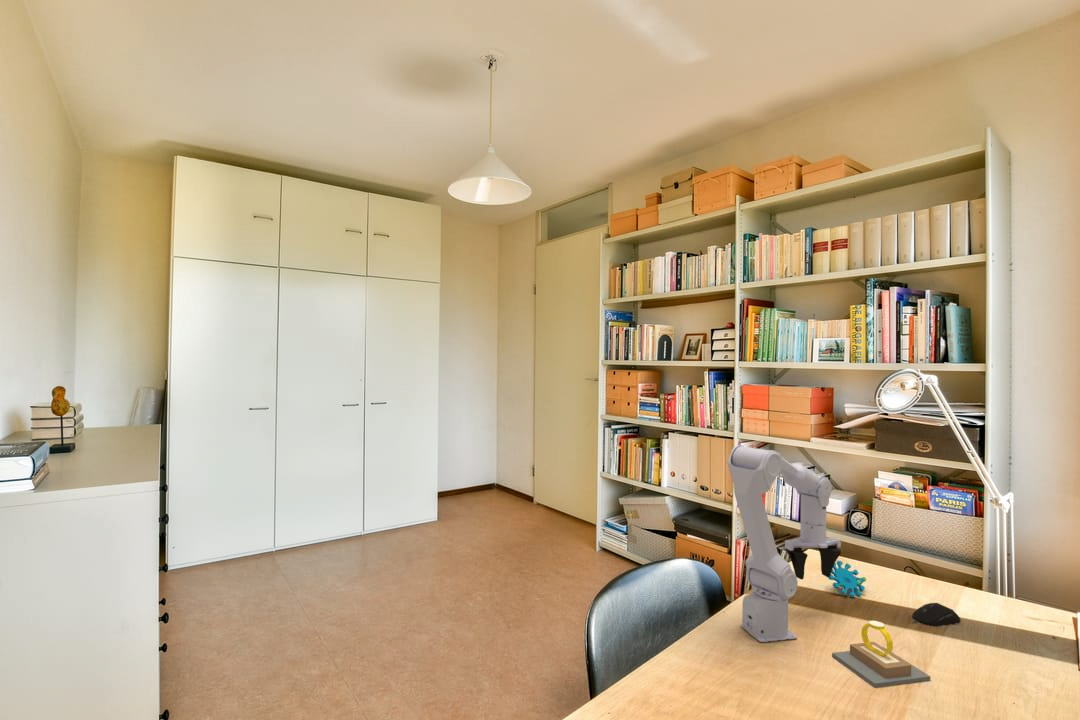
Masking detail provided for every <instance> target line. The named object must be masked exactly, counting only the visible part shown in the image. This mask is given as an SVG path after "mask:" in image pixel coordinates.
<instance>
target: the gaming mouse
mask: <svg viewBox="0 0 1080 720" xmlns="http://www.w3.org/2000/svg"><path fill="white" fill-rule="evenodd" d="M911 618H912V619H913V620H914V619H915V620H916V621H915V620H914V621H912V622H911V623H912V624H918V623H917V622H920V623H919V624H921V623H923V624H922V625H925V626H928V625H929V626H928V627H943V626H942V625H945V626H950V625H949V624H953V625H956V624H955V623H958V624H960V622H961V617H960V616H959V614H957V613H956V612H955V611H954V610H953V609H952V608H950V607H947V606H945V605H944V604H941V603H939V602H930V603H926V604H923V605H922V606H920V607H918V608H917V609H916V610H915V611H914V612H913V613H912V616H911Z"/></svg>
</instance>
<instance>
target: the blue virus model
mask: <svg viewBox="0 0 1080 720" xmlns="http://www.w3.org/2000/svg"><path fill="white" fill-rule="evenodd" d="M842 565H844V567H842ZM851 568H852V565H851V564H849V563H848V562H847V563H846V564H844V563H843V561H841V560H838V559H837V560H836V562H835V564H834V566H833V569H832V572H831V575H830V577H827V579H829V580H830V581H835V582H833V583H832V587H833V588H834V589H837V588H839V587H842V589H841V590H840V591H839V592H840V593H841V594H842V595H843V596H845V595H847V591H848V590H849V591H850V592H849V593H848V596H849V597H850V598H852V599H855V597H856V596H857V597H861V596H863V591H864V590H865V589H866V586H864V585H863V583H865V582H866V581H867V578H866V577H865V576H862V577H858V576H857V575H859V571H858V570H857V569H854V570H849V569H851ZM854 590H855V591H854Z"/></svg>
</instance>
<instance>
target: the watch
mask: <svg viewBox="0 0 1080 720" xmlns="http://www.w3.org/2000/svg"><path fill="white" fill-rule="evenodd" d="M869 627H870V628H871V629H874V630H876V631H877V630H879V631H880V633H881V634H882V635H883V637H884V639H885V641H886V651H885V653H883V652H881V651H880V650H878V649H876V648H874V647H873V646H872V644H871V643H870V642H871V641H870V639H869V636H868V629H869ZM860 635H861V638H862V643H864V644H865V645H866V647H867V648H868V649H869V650H871V651H873V652H875V653H877V654H878V655H880V656H884V655H888V654H890V653H891V652H893V648H894V646H893V645H894V643H893V639H892V637H891V635H890V633H889V631H888V630H887V629H886V627H885V624H884V623H883V622H881V621H878V620H869V621H868V623H866V624H864V625H863V626H862V628H861V633H860Z"/></svg>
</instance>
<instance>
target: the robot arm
mask: <svg viewBox="0 0 1080 720" xmlns="http://www.w3.org/2000/svg"><path fill="white" fill-rule="evenodd" d="M726 464H727V467H728V471H729V474H730V476H731V478H730V479H731V480H732V484H733V491H734V497H735V501H736V503H737V507H738V510H739V513H740V517H741V520H742V521H741V522H742V523H743V528H744V530H745V534H746V536H747V537H746V538H747V541H748V545H749V547H750V551H751V554H750V555H749V556H748V557H747V559H746V560H745V561H744V563H745V566H746V579H747V582H748V584H749V585H750V586H751V591H753V592H751V593H749V594H746V595H745V596H744V597H743V599H742V614H741V616H742V623H740V627H741V628H743V630H745V631H746V632H747V633H748V634H750V636H752V637H753V638H754V637H755V638H754V639H756V641H758V642H759V643H768V642H769V641H770V642H777V641H778V640H780V641H786V639H789V640H796V639H797V638H798V637H797V635H796V634H794V633H793V632H792V631H790V630H789V600H790V599H791V598H793V597H794V595H795V594H796V592H797V589H798V585H799V584H798V583H799V582H798V579H799V580H804V578H805V566H806V560H807V558H808V556H809V555H808V554H807V553H806V552H804V550H803V549H818V552H819V554H820V556H819V557H820V570H821V575H823V576H825V577H826V578H828V577H830V575H831V574H832V573H831V572H832V569H833V566H834V564H835V563H837V561H838V558H839V557H840V555H842V550H841V549H839V548H841V547H842V539H841V538H838V537H834V536H833V537H831V536H830V537H829V536H827V507H828V506H829V504H830V497H831V495H832V490H833V486H832V484H831V481H830V479H828V477H826V476H824V475H821V474H820V475H819V474H818V473H815V470H814V469H810V468H809V469H808V468H807V467H806V464H805V463H804V462H799V461H796V462H793V463H792V462H791V463H790V462H789V461H788V460H786V459H785V458H784V457H783V455H782V454H781V452H777V450H772V449H771V450H770V449H768V450H767V449H761V448H758V447H757V448H755V447H751V446H750V447H749V446H744V445H741V444H737V445H735V446H733V448H732V449H731V452H730V453H729V457H728V459H727V462H726ZM778 475H780V476H782V479H783V481H784V482H785V483H786V484H787V485H788V486H790V487H792V488H793V489H795V491H796V493H797V494H798V495H800V528H799V529H800V530H799V531H800V532H799V533H800V536H798V537H795V538H792V539H785V540H784V548H785V551H786V553H787V555H788V556H789V559H790V561H791V564H792V567H793V569H792V567H791V564H790V563H789V562H788V561H787V560H786V559H785V558H783V556H781V555H780V554H779V551H778V550H777V549H778V548H777V545H776V542H775V538H774V535H773V531H772V528H771V524H770V521H769V517H768V514H767V510H766V506H765V503H764V501H763V496H762V495H763V494H766V493H768V492H770V489H771V488H772V486H773V484H774V482H775V480H776V479H777V477H778ZM833 570H834V569H833Z"/></svg>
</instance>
